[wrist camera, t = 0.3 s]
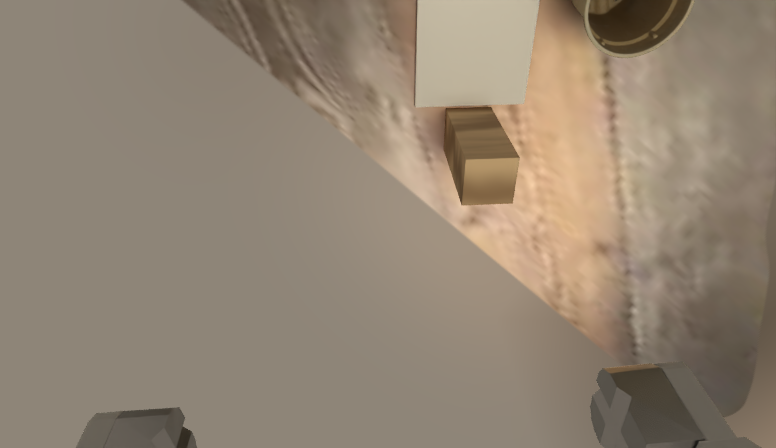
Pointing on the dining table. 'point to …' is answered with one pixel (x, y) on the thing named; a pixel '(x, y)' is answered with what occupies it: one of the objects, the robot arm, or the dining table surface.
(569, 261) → the dining table surface
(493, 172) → the oak block
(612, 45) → the flower pot
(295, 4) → the dining table surface
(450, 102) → the white board
